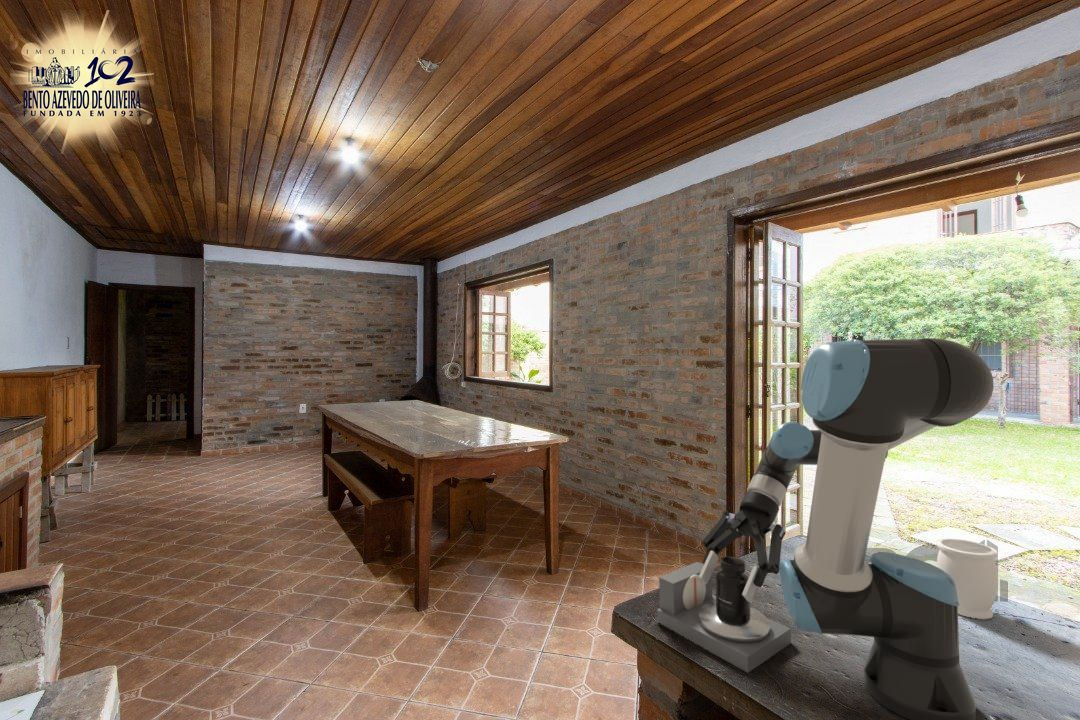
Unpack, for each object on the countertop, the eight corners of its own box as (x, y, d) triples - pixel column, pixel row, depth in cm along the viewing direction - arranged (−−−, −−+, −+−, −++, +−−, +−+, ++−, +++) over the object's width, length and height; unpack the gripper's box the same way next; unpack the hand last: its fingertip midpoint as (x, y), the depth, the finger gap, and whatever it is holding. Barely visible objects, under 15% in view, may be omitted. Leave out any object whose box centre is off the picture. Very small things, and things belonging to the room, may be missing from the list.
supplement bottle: (717, 623, 98) (716, 565, 98) (715, 607, 104) (714, 552, 105) (753, 628, 96) (751, 568, 96) (748, 611, 102) (747, 556, 103)
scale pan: (783, 626, 98) (783, 620, 98) (745, 651, 90) (745, 644, 90) (723, 600, 110) (723, 595, 110) (685, 620, 102) (685, 614, 102)
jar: (974, 600, 114) (972, 538, 114) (1013, 623, 103) (1010, 555, 104) (927, 599, 115) (925, 537, 115) (960, 622, 105) (958, 554, 105)
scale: (791, 643, 98) (789, 594, 98) (747, 672, 89) (746, 619, 89) (700, 601, 116) (699, 560, 116) (657, 622, 107) (656, 578, 107)
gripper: (819, 521, 100) (783, 620, 91) (726, 499, 118) (688, 579, 109) (806, 500, 97) (767, 600, 88) (712, 481, 115) (672, 562, 106)
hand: (723, 589), depth 98 cm, fingers open, 9 cm apart
